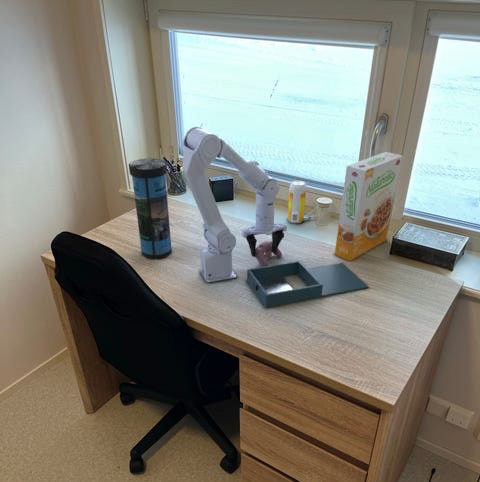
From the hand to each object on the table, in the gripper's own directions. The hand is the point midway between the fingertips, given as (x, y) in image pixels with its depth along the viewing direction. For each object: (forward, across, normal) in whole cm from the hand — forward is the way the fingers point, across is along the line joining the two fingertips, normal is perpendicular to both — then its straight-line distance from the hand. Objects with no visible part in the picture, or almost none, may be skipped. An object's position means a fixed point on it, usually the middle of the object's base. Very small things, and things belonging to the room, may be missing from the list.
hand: (263, 253), depth 150 cm
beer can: (+3, +24, +27) cm, 36 cm away
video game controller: (+3, +2, +1) cm, 4 cm away
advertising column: (+3, -32, +18) cm, 37 cm away
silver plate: (+3, -3, -18) cm, 18 cm away
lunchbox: (+3, +7, -17) cm, 19 cm away
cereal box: (+4, +36, -1) cm, 36 cm away
